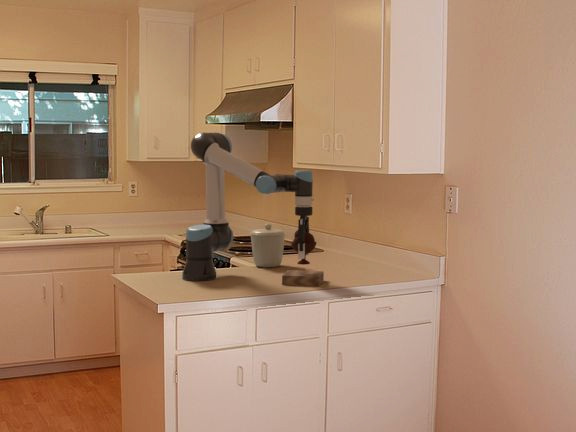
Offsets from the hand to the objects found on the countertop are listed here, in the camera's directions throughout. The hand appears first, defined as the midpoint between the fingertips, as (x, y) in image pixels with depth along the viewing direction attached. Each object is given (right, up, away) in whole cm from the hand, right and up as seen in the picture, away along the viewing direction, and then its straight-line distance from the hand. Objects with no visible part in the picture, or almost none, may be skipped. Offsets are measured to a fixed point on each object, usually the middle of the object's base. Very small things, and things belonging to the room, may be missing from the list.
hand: (303, 256), depth 334 cm
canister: (-17, -7, +45) cm, 49 cm away
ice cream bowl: (0, -3, 0) cm, 3 cm away
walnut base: (0, -11, +1) cm, 11 cm away
